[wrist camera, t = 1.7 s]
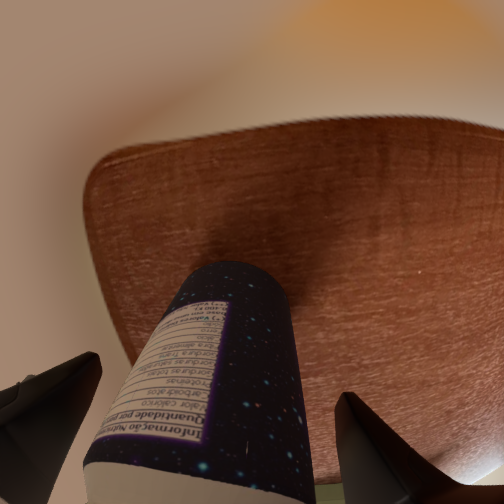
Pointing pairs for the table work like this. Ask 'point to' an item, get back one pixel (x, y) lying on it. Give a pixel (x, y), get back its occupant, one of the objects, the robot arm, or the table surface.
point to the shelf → (329, 494)
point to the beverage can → (210, 403)
